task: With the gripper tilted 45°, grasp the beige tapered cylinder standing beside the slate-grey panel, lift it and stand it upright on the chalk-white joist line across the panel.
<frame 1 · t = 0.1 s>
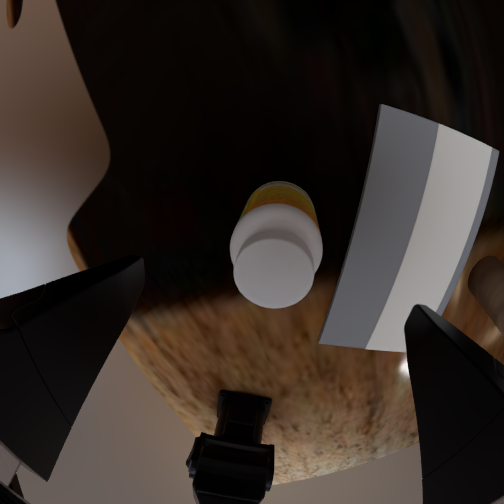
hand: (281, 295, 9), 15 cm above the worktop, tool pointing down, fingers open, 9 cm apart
beige tapered cylinder: (484, 276, 23), on the worktop
slate-grey panel: (412, 250, 23), on the worktop
supplement bottle: (280, 212, 23), on the worktop
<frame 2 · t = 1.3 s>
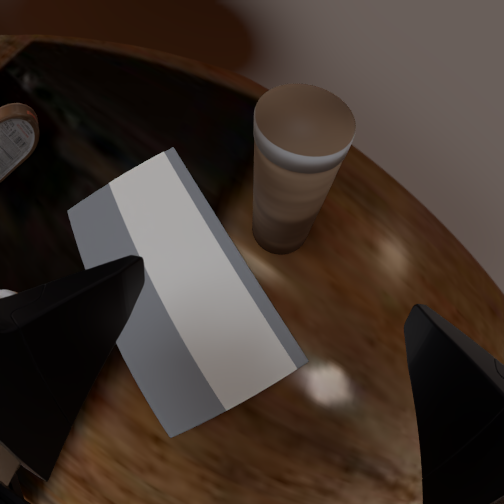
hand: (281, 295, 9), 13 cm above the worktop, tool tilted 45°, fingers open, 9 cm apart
beige tapered cylinder: (280, 228, 24), on the worktop
slate-grey panel: (166, 279, 23), on the worktop
tin: (9, 172, 27), on the worktop
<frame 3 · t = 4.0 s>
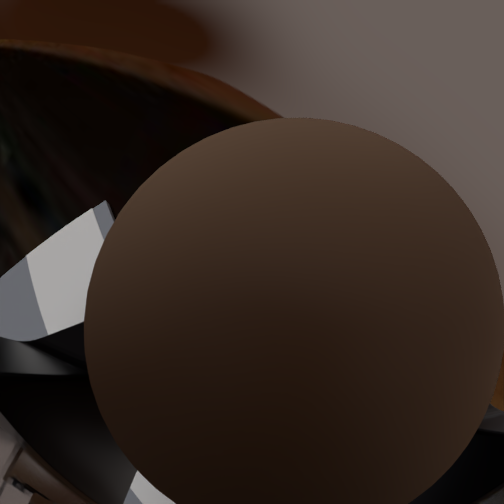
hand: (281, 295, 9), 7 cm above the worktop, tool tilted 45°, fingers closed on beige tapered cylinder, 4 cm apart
beige tapered cylinder: (263, 343, 15), on the worktop, touching gripper
slate-grey panel: (101, 409, 13), on the worktop
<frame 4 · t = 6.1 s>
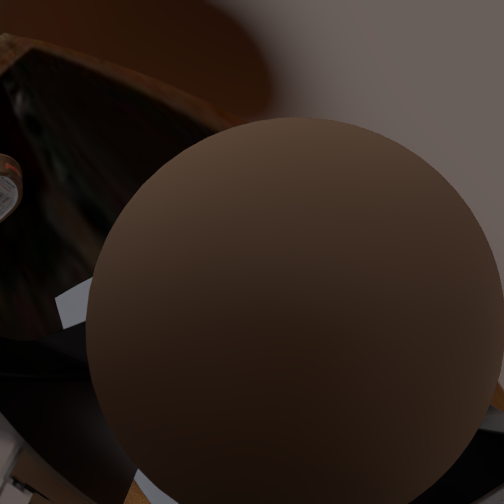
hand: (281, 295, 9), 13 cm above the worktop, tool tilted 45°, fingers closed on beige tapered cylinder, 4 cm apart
beige tapered cylinder: (263, 343, 15), point 6 cm above the worktop, touching gripper
slate-grey panel: (164, 397, 19), on the worktop
when the fingers open (8 cm above the worktop, at t = 8.3 s): beige tapered cylinder drops 1 cm, resting on slate-grey panel.
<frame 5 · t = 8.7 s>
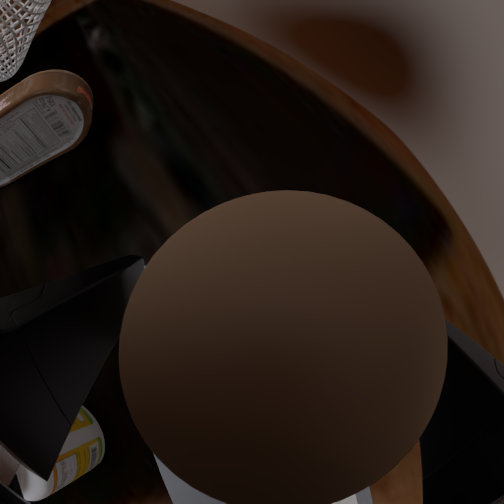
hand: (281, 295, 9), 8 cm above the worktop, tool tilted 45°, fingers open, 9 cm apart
beige tapered cylinder: (262, 344, 16), point 1 cm above the worktop, touching slate-grey panel
slate-grey panel: (249, 429, 15), on the worktop
heart: (13, 76, 27), on the worktop
tin: (40, 162, 21), on the worktop
supplement bottle: (75, 432, 14), on the worktop
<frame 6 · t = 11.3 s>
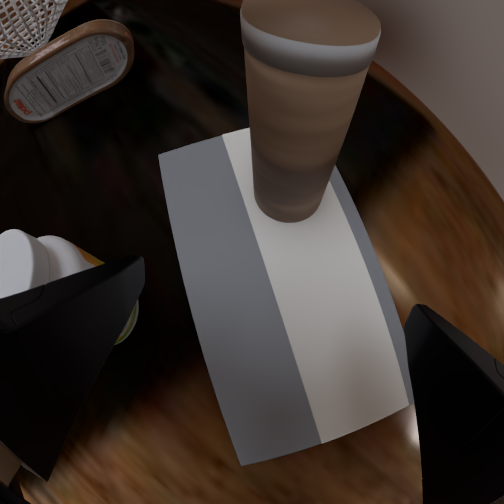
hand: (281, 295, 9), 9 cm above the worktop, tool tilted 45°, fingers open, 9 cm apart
beige tapered cylinder: (288, 191, 19), point 1 cm above the worktop, touching slate-grey panel
slate-grey panel: (283, 271, 18), on the worktop
heart: (40, 51, 31), on the worktop
tin: (82, 99, 25), on the worktop
supplement bottle: (107, 308, 18), on the worktop
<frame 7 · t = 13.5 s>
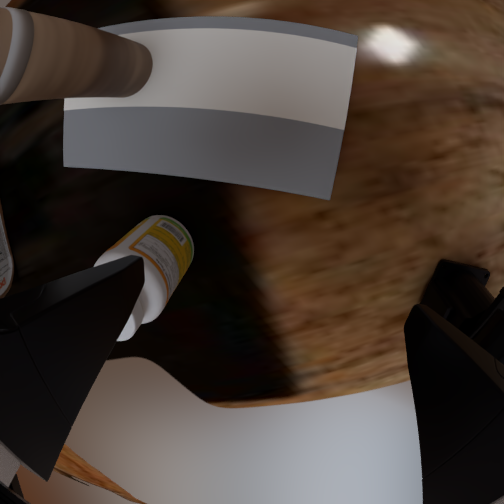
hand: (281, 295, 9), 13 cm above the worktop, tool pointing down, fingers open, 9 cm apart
beige tapered cylinder: (125, 69, 17), point 1 cm above the worktop, touching slate-grey panel
slate-grey panel: (186, 94, 18), on the worktop
tin: (4, 227, 26), on the worktop
supplement bottle: (165, 243, 24), on the worktop
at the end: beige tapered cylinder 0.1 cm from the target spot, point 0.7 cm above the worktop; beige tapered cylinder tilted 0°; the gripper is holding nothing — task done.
